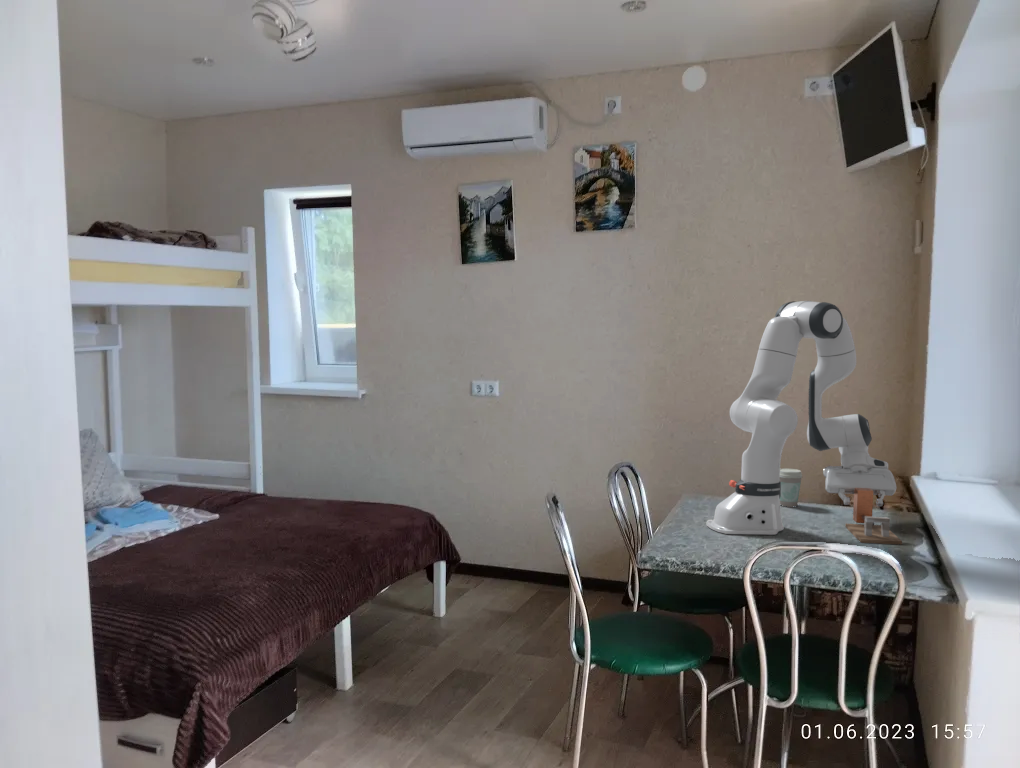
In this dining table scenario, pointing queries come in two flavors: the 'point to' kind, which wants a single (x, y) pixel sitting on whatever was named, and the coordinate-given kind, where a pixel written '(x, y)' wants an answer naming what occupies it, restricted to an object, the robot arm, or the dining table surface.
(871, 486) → the robot arm
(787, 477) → the coffee cup
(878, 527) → the eye board
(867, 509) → the orange brown upright block
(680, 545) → the dining table surface
